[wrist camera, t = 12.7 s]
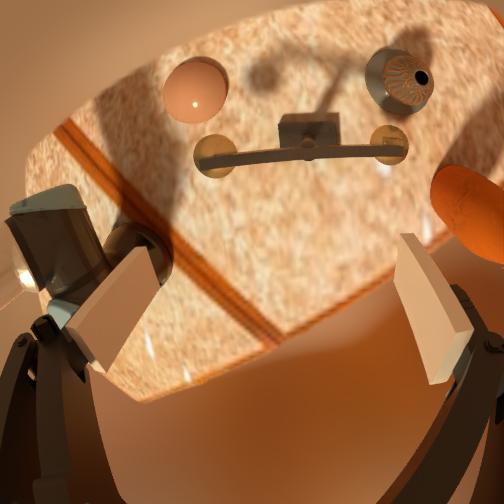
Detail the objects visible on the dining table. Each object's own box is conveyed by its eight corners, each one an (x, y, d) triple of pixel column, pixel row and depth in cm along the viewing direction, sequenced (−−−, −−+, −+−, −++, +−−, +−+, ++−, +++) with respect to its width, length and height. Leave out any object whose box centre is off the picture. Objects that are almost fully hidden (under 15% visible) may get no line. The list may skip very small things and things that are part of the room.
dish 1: (170, 128, 40) (167, 128, 39) (162, 70, 35) (159, 70, 34) (230, 118, 38) (228, 118, 37) (222, 56, 33) (220, 55, 32)
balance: (223, 161, 42) (182, 191, 29) (218, 128, 39) (173, 144, 26) (394, 156, 36) (435, 186, 23) (394, 123, 33) (438, 136, 20)
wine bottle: (421, 214, 39) (513, 357, 14) (432, 156, 34) (568, 257, 9) (466, 222, 37) (561, 347, 12) (478, 168, 33) (604, 265, 7)
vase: (373, 57, 28) (390, 46, 21) (417, 62, 27) (443, 54, 19) (379, 103, 32) (397, 104, 24) (422, 106, 30) (449, 109, 23)
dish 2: (367, 112, 34) (369, 112, 33) (361, 47, 29) (362, 46, 28) (429, 117, 31) (431, 118, 30) (424, 55, 26) (426, 54, 26)
